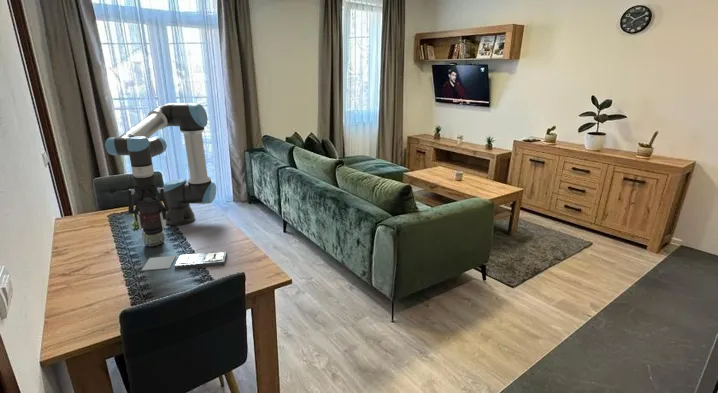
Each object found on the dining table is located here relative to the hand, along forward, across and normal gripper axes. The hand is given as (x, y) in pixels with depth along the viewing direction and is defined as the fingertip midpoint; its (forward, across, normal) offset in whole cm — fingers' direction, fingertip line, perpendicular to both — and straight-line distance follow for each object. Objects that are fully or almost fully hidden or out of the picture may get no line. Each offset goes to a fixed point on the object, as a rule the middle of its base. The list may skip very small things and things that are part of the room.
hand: (152, 227), depth 157 cm
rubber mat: (+17, 0, 0) cm, 17 cm away
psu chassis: (+17, +18, -2) cm, 25 cm away
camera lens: (+3, 0, 0) cm, 3 cm away
